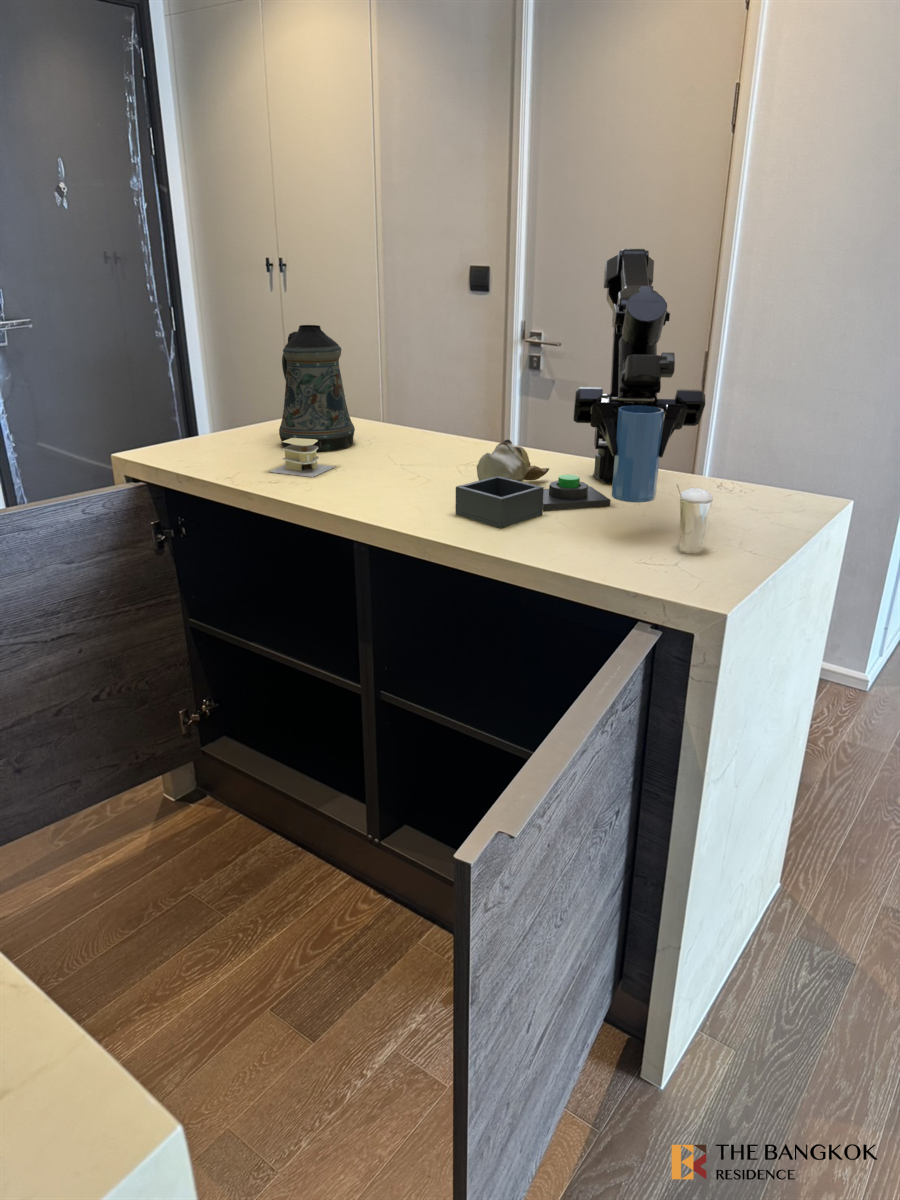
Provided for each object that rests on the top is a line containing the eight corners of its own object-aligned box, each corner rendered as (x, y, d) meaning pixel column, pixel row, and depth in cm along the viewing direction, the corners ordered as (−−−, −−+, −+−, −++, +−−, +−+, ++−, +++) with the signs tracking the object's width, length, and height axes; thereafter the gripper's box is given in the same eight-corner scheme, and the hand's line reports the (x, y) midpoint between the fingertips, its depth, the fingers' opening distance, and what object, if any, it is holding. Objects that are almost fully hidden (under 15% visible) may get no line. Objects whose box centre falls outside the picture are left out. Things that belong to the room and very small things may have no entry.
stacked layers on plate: (268, 472, 168) (266, 444, 166) (293, 462, 176) (291, 435, 174) (313, 477, 165) (311, 448, 162) (336, 466, 172) (334, 439, 170)
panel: (590, 492, 155) (591, 476, 154) (610, 506, 147) (611, 489, 146) (526, 496, 153) (527, 480, 152) (543, 511, 145) (544, 493, 143)
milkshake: (664, 545, 128) (671, 480, 125) (699, 544, 129) (707, 479, 125) (674, 555, 124) (682, 488, 120) (710, 554, 125) (719, 487, 121)
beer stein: (329, 455, 181) (322, 331, 171) (253, 446, 188) (243, 327, 179) (369, 440, 195) (365, 324, 185) (297, 432, 202) (290, 321, 193)
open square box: (497, 502, 149) (497, 475, 147) (542, 515, 142) (543, 487, 141) (455, 514, 142) (455, 486, 141) (501, 528, 136) (501, 499, 134)
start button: (574, 483, 151) (575, 473, 150) (582, 489, 148) (582, 479, 147) (555, 484, 150) (555, 475, 149) (562, 490, 147) (563, 480, 146)
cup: (643, 489, 133) (651, 404, 128) (662, 501, 127) (671, 412, 122) (604, 492, 131) (611, 406, 126) (622, 503, 125) (629, 414, 120)
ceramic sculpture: (462, 440, 154) (506, 431, 166) (459, 487, 157) (503, 475, 169) (513, 448, 148) (554, 438, 160) (509, 497, 151) (550, 484, 163)
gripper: (579, 330, 125) (576, 422, 119) (711, 332, 123) (715, 425, 117) (574, 377, 135) (571, 464, 129) (696, 380, 133) (699, 468, 127)
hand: (637, 455), depth 125 cm, fingers closed on cup, 6 cm apart
